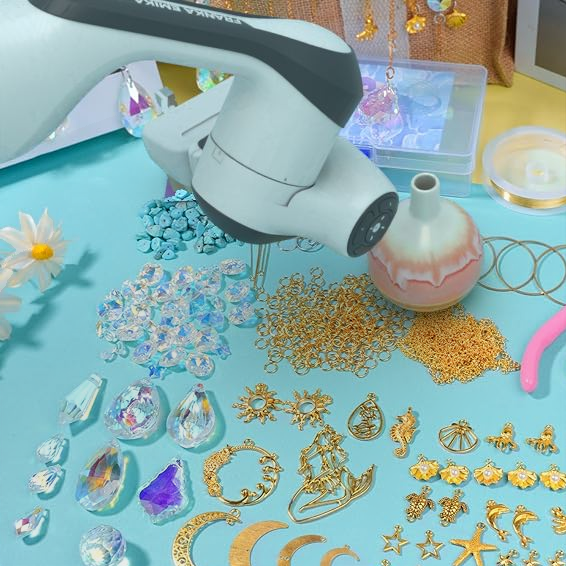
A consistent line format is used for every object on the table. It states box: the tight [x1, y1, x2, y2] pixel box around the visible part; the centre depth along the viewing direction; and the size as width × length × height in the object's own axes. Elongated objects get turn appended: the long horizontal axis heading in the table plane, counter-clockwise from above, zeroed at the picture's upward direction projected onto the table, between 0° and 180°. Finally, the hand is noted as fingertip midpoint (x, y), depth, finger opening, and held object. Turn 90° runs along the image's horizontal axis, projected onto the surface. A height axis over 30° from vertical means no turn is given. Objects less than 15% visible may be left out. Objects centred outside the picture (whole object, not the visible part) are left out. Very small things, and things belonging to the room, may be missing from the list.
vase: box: [365, 171, 485, 313], centre depth 94 cm, size 14×14×18 cm
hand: (198, 74), depth 88 cm, fingers open, 8 cm apart
